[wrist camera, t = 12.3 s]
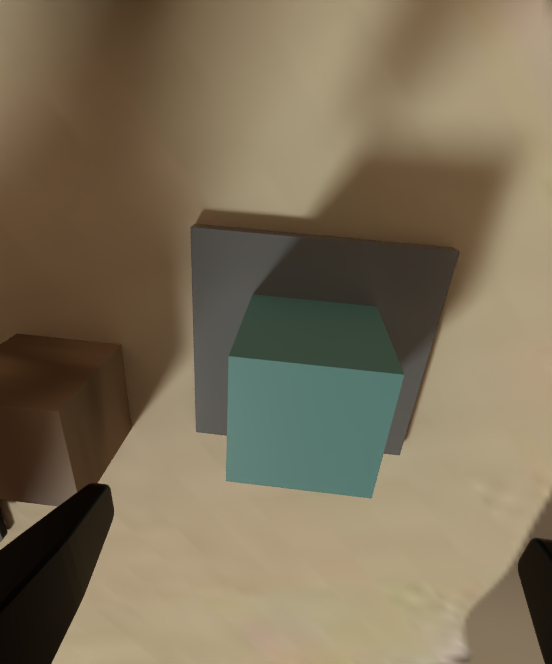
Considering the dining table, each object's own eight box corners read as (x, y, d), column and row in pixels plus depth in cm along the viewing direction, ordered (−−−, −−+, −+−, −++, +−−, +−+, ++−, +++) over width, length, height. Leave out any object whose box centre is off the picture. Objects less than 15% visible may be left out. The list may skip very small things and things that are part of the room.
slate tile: (199, 424, 17) (196, 431, 17) (194, 224, 13) (190, 227, 13) (397, 447, 17) (399, 455, 17) (454, 248, 13) (459, 251, 13)
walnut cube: (39, 416, 18) (-37, 494, 14) (18, 332, 16) (-79, 395, 12) (132, 427, 18) (81, 509, 14) (121, 343, 16) (58, 411, 12)
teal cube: (247, 395, 16) (226, 480, 12) (252, 294, 14) (228, 356, 10) (356, 407, 16) (371, 498, 12) (377, 306, 14) (404, 374, 10)
